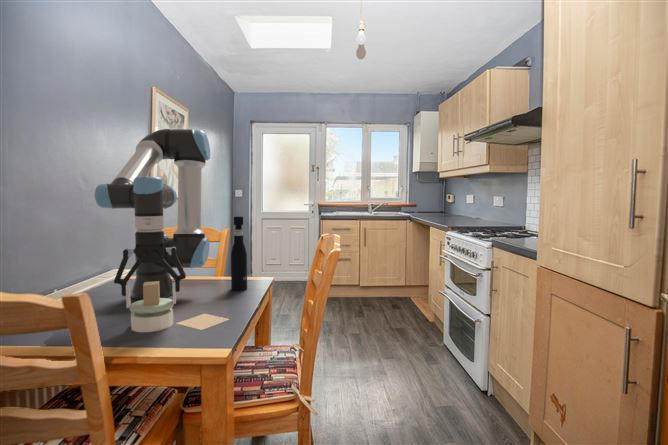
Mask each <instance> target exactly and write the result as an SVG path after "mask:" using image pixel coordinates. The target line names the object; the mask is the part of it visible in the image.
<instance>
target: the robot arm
mask: <svg viewBox="0 0 668 445" xmlns="http://www.w3.org/2000/svg"><path fill="white" fill-rule="evenodd" d="M210 147H211V146H210V141H209V138H208V136H207V133H206V132H205V131H203V130H201V129H194V128H191V129H189V128H187V129H184V128H182V129H181V128H180V129H177V128H176V129H175V128H174V129H173V128H163V129H158V130H156V131H154V132H151V133H149V134H147V135H146V136H144V137H143V138H142V139H141V140H139V142H138V144H136V147H135V152H134V154H132V156H131V157H130V158H129V160H128V161H127V163H126V164H125V165H124V166H123V168H122V169H121V170H120V171H119V172H118V174H117V175H116V176H115V178H114V179H113V180H112V181H111V182H110V183H107V182H106V183H100V184H98V185H97V186H96V187H95V191H94V199H95V200H94V201H95V202H96V205H97V206H98V207H99V208H102V209H112V210H114V209H134V229H135V233H134V234H135V235H134V238H135V242H134V244H135V246H134V248H133V249H132V248H131V249H129V248H125V249H123V251H122V259H121V261H120V264H119V267H118V270H117V272H116V274H115V276H114V277H115V278H114V280H113V283H114V284H119V285H120V288H121V296H122V297H125V303H126V304H125V305H126V309H130V304H132V302H131V298H132V299H134V300H138V301H140V300H143V284H144V282H154V281H159V287H160V298H168V297H171V296H172V300H173V305H176V304H177V293H179V292H180V290H181V289H180V288H181V285H180V284H181V283H180V282H181V280H185V279H186V277H187V274H186V272H185V270H184V269H195V268H202V267H204V266H205V265H206V263H207V262H208V258H209V253H210V247H211V246H210V239H209V238H208V237H206V234H205V232H204V230H203V229H202V170H203V168H204V167H205V166H206V161H208V160H210V159H211V148H210ZM162 160H173V164H175V166H176V167H177V169H178V170H177V191H176V190H175V189H174V187H172V186H170V185H168V184H165V183H163V179H162V178H161V177H158V176H149V174H150V173H151V171H152V170H153V168H154V167H155V166H156V164H158V163H160V162H161V161H162ZM176 202H177V229H176V230H175V231H174V232H173V234H172V235H173V236H172V237H170V236H169V234H167V233H165V232H164V228H165V226H164V225H165V224H164V223H165V220H164V219H165V218H164V209H169V208H170V207H173V205H175V203H176ZM133 254H134V257H135V263H134V264H133V265H132V266H131V269H130V270H129V271H128V272H127V274H126V275H125V276H124V278H122V276H123V273H124V271H125V269H126V266H127V263H128V261H129V259H130V257H131V256H132V255H133ZM174 269H177V271H178V273H179V275H178V274H177V272H176V271H175V270H174ZM134 273H135V280H134V282H133V286H132V289H131V283H130V282H128V281H129V280H130V279H131V277H132V276H133V275H134ZM172 278H173V280H172Z"/></svg>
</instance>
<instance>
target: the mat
mask: <svg viewBox="0 0 668 445" xmlns="http://www.w3.org/2000/svg"><path fill="white" fill-rule="evenodd" d="M229 320H230V318H225V317H221V316H217V315H213V314H209V313H202V314H199V315H196V316H194V317H193V316H192V317H191V318H187V319H185V320H181V321H179V322H176V323H175V324H176V325H179V326H184V327H188V328H191V329H194V330H195V329H196V330H199V331H203V330H206V329H208V328H211V327H214V326H217V325H219V324H222V323H224V322H227V321H229Z"/></svg>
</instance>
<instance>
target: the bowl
mask: <svg viewBox="0 0 668 445" xmlns="http://www.w3.org/2000/svg"><path fill="white" fill-rule="evenodd" d="M173 325H174V310H173V307H172V308H170V309H168V310H165V311H161V312H156V313H146V314H140V313H133V312H131V313H130V328H131V331H133V332H137V333H152V332H153V333H154V332H159V331H163V330H165V329H168V328H171V327H172V326H173Z"/></svg>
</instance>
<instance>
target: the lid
mask: <svg viewBox="0 0 668 445" xmlns="http://www.w3.org/2000/svg"><path fill="white" fill-rule="evenodd" d="M174 305H175V304H173V298H172V299H171V298H168V297H165V298H160V287H159V281H154V282H144V284H143V300H137V301H134V302H131V304H130V308H129V311H130V312H131V313H132V312H133V313H140V314H146V313H156V312H161V311H165V310H168V309H170V308H172V309H173V307H174Z"/></svg>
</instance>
